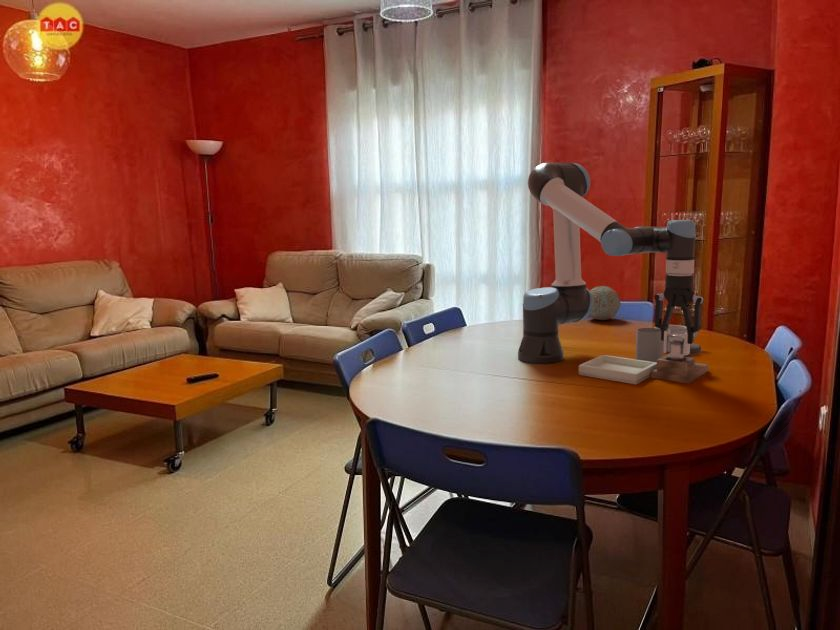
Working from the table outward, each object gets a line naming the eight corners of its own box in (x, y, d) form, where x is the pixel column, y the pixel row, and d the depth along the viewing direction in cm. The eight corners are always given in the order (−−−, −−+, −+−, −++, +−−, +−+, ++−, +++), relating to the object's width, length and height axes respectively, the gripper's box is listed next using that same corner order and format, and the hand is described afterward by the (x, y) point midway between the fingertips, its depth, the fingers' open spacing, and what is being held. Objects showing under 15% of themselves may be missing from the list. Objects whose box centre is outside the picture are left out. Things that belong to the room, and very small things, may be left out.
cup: (664, 363, 203) (665, 333, 201) (637, 363, 204) (638, 332, 202) (660, 357, 211) (661, 327, 209) (634, 356, 212) (635, 327, 211)
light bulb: (663, 370, 187) (664, 336, 185) (670, 367, 191) (671, 333, 189) (681, 373, 183) (683, 338, 181) (687, 369, 187) (689, 335, 185)
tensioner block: (651, 377, 188) (651, 351, 186) (672, 365, 200) (673, 340, 199) (689, 383, 180) (690, 356, 179) (709, 370, 193) (710, 344, 191)
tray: (578, 374, 193) (578, 365, 192) (602, 363, 205) (602, 354, 204) (636, 384, 181) (636, 374, 180) (658, 372, 193) (658, 362, 192)
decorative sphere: (585, 323, 271) (586, 288, 269) (582, 316, 286) (583, 283, 283) (622, 323, 269) (622, 288, 266) (617, 316, 283) (618, 283, 281)
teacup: (653, 351, 219) (654, 328, 218) (654, 344, 229) (655, 322, 228) (697, 353, 214) (698, 330, 212) (696, 346, 224) (697, 324, 222)
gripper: (643, 274, 185) (641, 351, 189) (708, 277, 173) (704, 360, 177) (653, 271, 191) (651, 346, 195) (717, 274, 179) (713, 354, 183)
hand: (676, 352), depth 186 cm, fingers closed on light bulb, 5 cm apart
